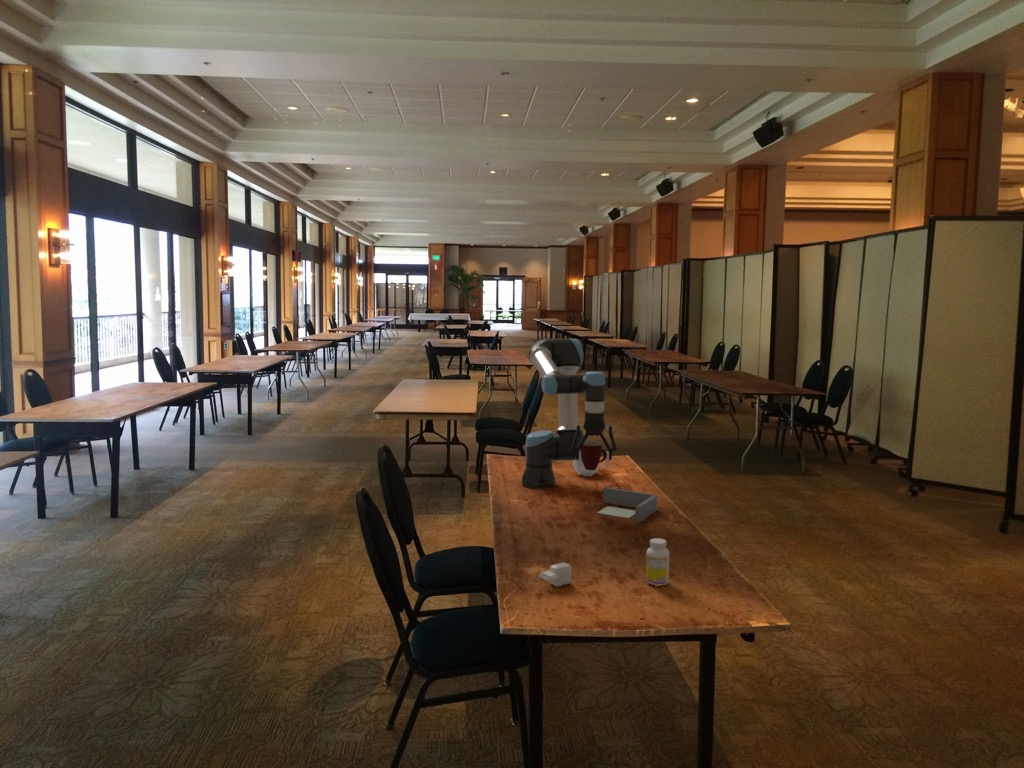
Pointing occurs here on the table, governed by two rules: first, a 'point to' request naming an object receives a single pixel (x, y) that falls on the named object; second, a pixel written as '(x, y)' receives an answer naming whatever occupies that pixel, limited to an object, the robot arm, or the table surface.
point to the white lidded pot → (583, 469)
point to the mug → (591, 455)
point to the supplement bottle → (657, 562)
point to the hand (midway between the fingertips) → (593, 468)
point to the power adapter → (557, 574)
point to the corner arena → (629, 503)
